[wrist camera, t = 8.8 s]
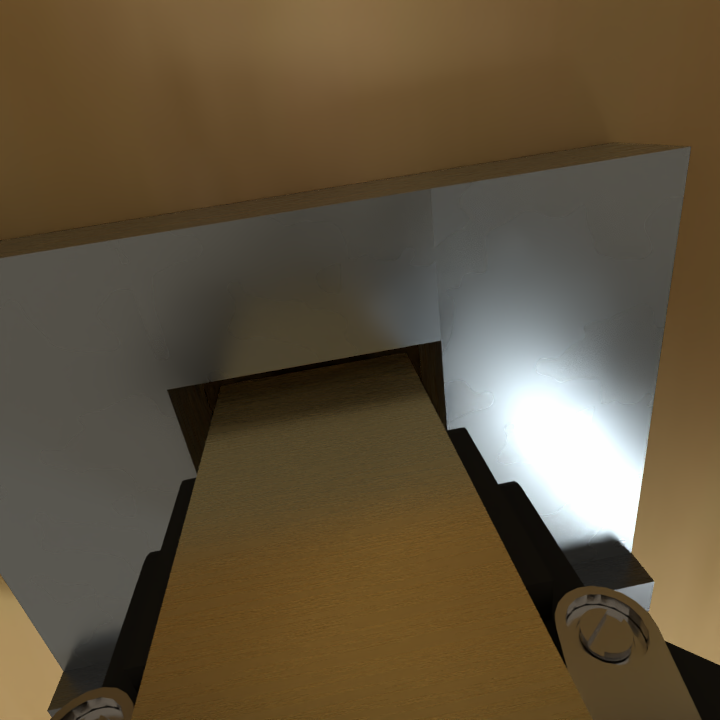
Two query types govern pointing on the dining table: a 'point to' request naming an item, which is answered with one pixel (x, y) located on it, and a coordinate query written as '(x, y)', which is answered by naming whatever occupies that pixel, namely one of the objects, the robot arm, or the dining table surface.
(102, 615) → the jig
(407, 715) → the tan cardboard box
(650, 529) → the dining table surface
